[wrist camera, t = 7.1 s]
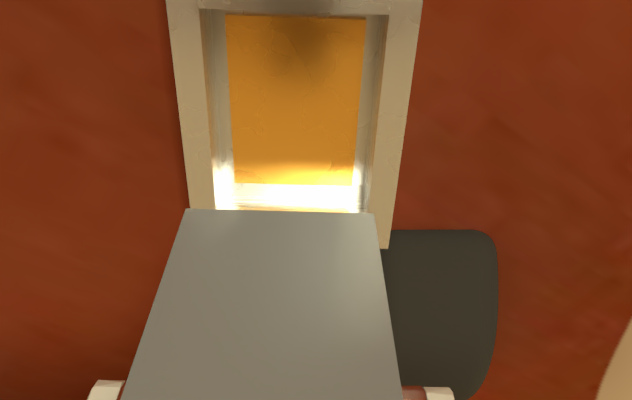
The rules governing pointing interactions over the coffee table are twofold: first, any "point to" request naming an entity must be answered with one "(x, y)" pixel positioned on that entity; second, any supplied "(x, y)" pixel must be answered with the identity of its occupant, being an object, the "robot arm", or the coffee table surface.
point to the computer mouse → (442, 306)
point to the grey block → (269, 311)
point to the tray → (294, 102)
